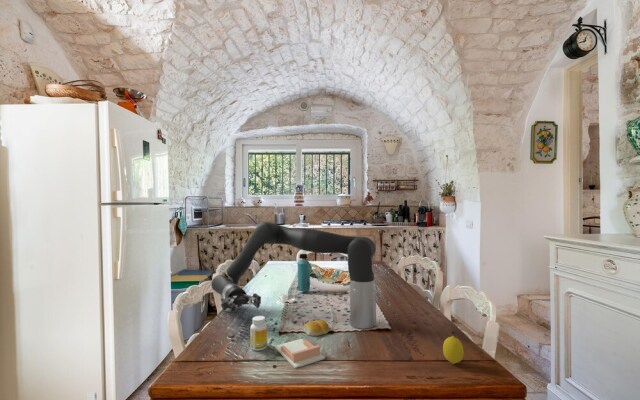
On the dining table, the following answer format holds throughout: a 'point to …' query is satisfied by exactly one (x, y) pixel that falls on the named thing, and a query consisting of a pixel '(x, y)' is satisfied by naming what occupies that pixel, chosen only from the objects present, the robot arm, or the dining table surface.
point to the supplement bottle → (258, 333)
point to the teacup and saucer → (285, 299)
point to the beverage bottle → (303, 274)
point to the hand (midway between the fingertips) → (246, 307)
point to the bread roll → (316, 328)
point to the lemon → (453, 350)
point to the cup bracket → (300, 352)
